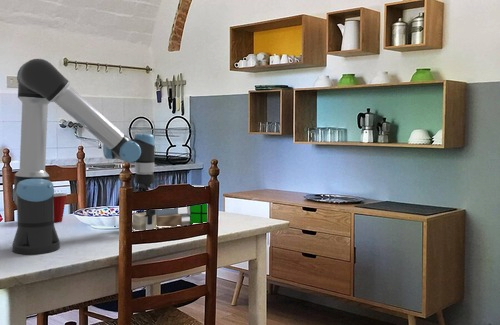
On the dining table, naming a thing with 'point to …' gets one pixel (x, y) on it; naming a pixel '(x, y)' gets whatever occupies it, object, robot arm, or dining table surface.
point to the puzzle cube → (198, 213)
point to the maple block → (142, 221)
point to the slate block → (166, 212)
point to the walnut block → (169, 220)
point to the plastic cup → (59, 206)
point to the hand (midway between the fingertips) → (144, 230)
